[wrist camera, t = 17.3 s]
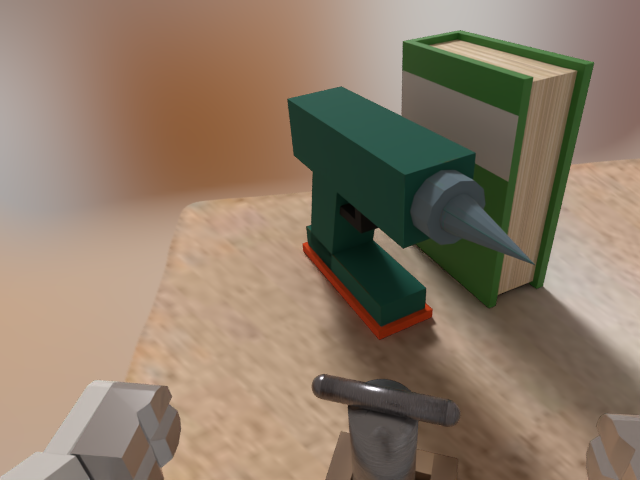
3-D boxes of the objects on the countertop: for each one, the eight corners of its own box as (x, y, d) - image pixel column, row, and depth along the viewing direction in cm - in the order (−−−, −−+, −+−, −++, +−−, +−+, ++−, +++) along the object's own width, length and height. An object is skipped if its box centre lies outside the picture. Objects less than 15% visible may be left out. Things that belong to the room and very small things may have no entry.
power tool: (536, 409, 41) (591, 204, 30) (470, 446, 39) (503, 238, 28) (350, 234, 65) (343, 84, 54) (303, 250, 63) (285, 97, 52)
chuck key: (447, 504, 35) (464, 378, 27) (441, 563, 32) (457, 440, 24) (334, 473, 37) (321, 351, 30) (318, 526, 34) (299, 404, 27)
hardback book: (542, 286, 54) (594, 62, 41) (488, 308, 52) (524, 79, 38) (445, 215, 68) (460, 30, 54) (399, 230, 65) (402, 41, 52)
